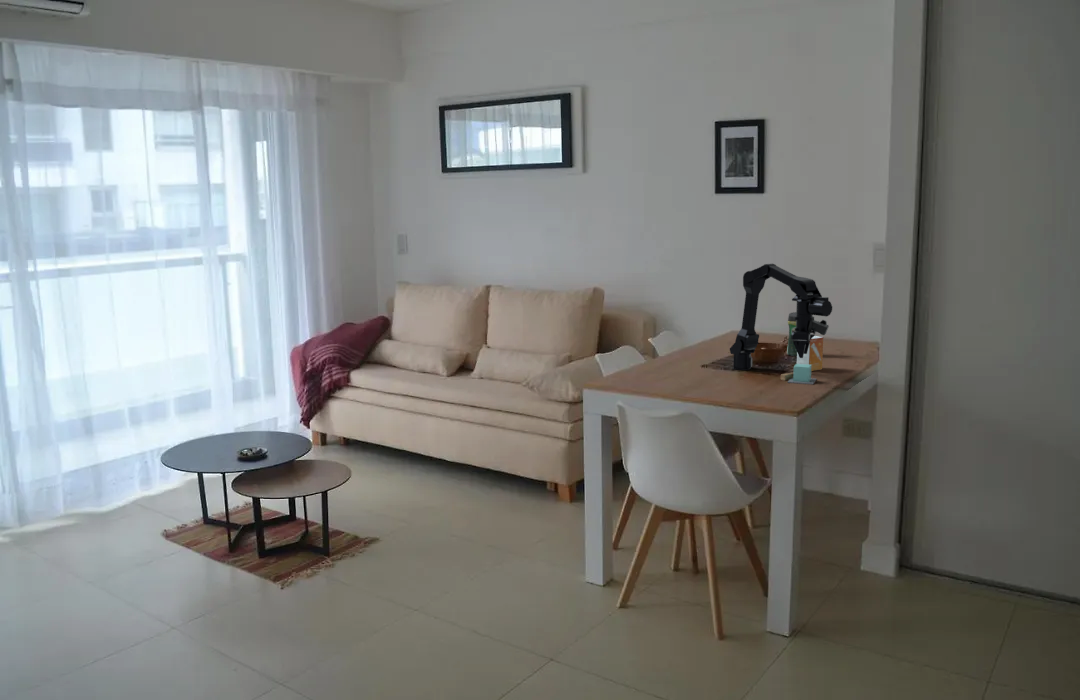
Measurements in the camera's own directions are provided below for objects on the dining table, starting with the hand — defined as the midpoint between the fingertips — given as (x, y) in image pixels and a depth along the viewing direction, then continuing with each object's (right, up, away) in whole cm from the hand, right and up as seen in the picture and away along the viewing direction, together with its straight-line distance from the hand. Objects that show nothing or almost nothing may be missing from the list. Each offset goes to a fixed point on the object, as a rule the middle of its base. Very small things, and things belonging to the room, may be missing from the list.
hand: (803, 355), depth 330 cm
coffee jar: (+14, 0, +54) cm, 56 cm away
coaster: (0, -9, +2) cm, 10 cm away
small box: (+9, -6, +23) cm, 26 cm away
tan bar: (-3, -9, +7) cm, 11 cm away
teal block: (0, -9, +2) cm, 9 cm away
